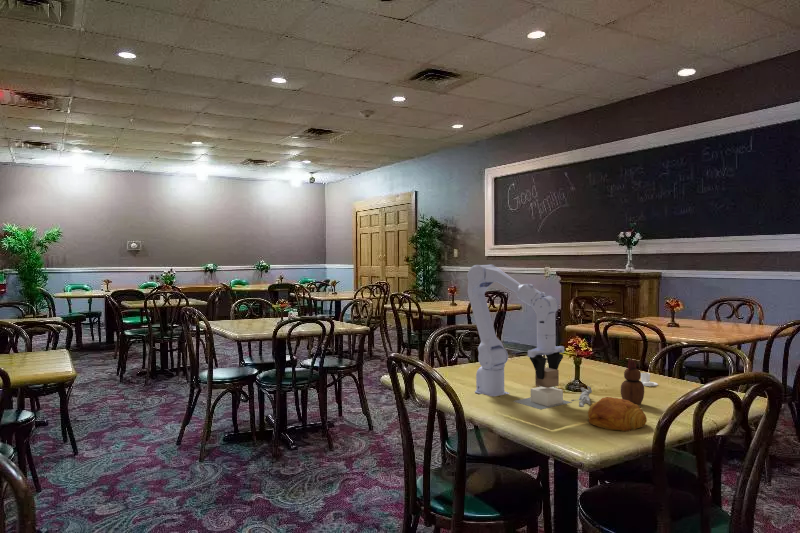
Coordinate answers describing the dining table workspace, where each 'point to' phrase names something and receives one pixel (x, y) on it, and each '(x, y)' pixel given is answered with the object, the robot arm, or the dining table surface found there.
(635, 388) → the wooden figurine
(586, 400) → the soldier figure
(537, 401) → the cream block
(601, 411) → the croissant
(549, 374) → the walnut cube
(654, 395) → the dining table surface
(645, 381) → the teacup and saucer
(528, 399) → the slate board
